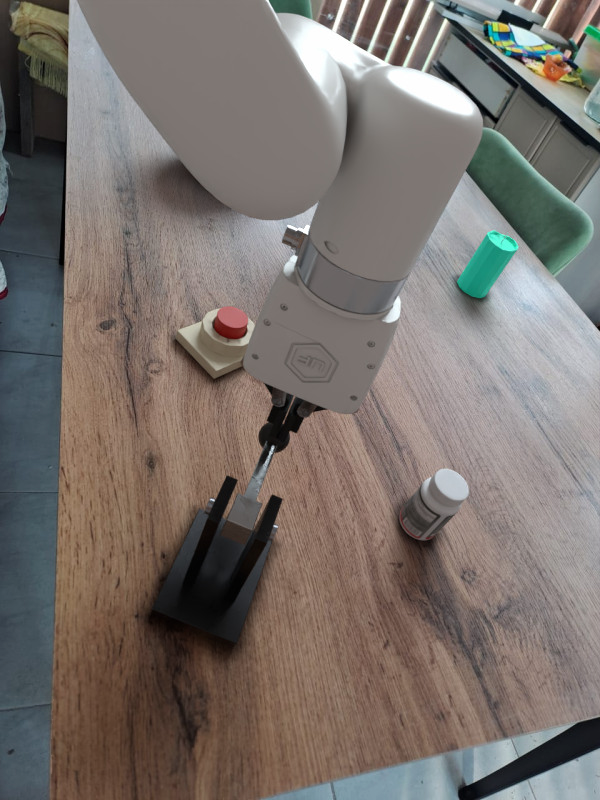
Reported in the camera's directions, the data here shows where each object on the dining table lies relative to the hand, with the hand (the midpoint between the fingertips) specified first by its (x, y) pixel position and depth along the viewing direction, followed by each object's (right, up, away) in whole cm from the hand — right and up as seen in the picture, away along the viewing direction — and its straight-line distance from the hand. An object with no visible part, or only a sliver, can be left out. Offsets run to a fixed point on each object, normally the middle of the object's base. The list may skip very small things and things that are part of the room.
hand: (280, 428), depth 53 cm
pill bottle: (+15, -12, +13) cm, 23 cm away
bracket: (-6, -14, +1) cm, 15 cm away
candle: (+34, +23, +53) cm, 67 cm away
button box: (-8, +10, +22) cm, 26 cm away
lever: (-2, -5, -2) cm, 6 cm away
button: (-7, +12, +20) cm, 25 cm away
